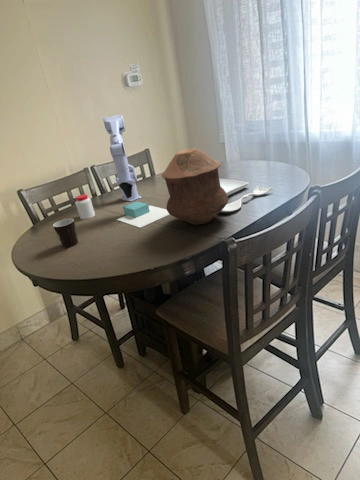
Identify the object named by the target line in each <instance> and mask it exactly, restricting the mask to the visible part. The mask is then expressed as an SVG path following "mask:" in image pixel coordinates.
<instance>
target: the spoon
mask: <svg viewBox="0 0 360 480" xmlns="http://www.w3.org/2000/svg"><path fill="white" fill-rule="evenodd" d="M273 189H274V187H273V186H271V187H267V188H266V187H263V186H262V187H261V186H259V184H258V185H256V186H255V188H254V189H253V190H252V192H249V193H247V194H245V195H244V194H243V195H242V196H241V197H240V198H238V199H237V200H234V201H233V202H229V203H227V204H226V206H225V207H224V208H223V209H222V210H221V211H220V212H219V213H232V212H236V211H237V210H239V209H240V208H241V207H242V200H244V199H247V198H249V197H250V196H253V197H254V196H255V197H259V196H262V195H265V194H267V193H268V192H270V191H272V190H273Z"/></svg>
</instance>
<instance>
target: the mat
mask: <svg viewBox="0 0 360 480" xmlns="http://www.w3.org/2000/svg"><path fill="white" fill-rule="evenodd" d="M148 206H149V211H150V212H149V213H146V214H144V215H142V216H139V217H137V218H135V217H132V216H128V215H124V216H122V217H119V218H117V219H116V221H119V222H122V223H124V224H127V225H130V226H133V227H136V228H139V229H142V228H143V227H146V226H148V225H151V224H152V223H155V222H157V221H159V220H162V219H163V218H166V217H168V216H171V215H170V214H169V213H168V211H167V208H163V207H158V206H154V205H148Z"/></svg>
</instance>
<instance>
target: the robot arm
mask: <svg viewBox="0 0 360 480" xmlns="http://www.w3.org/2000/svg"><path fill="white" fill-rule="evenodd" d="M102 121H103V124H104V129H105V130H106V133H107V134H108V135H110V137H109V141H110V146H109V152H110V155H111V157H112V161H113V162H114V165H115V170H116V174H117V177H115V182H116V183H117V184H119V185H118V186H119V189H120V192H121V195H122V198H121V200H122V201H126V202H134V201H135V200H136V201H137V200H138V199H140V198H142V197H143V195H139V193H138V187H137V184H136V182H137V181H138V178H137V172H136V169H135V167H134V165H132V164H129V160H128V156H127V152H126V148H125V144H124V139H123V133H124V132H126V125H125V120H124V117H123V114H117V115H113V116H107V117H103V119H102Z"/></svg>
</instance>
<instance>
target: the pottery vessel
mask: <svg viewBox="0 0 360 480" xmlns="http://www.w3.org/2000/svg"><path fill="white" fill-rule="evenodd" d="M221 165H222V163H221V162H219V161H217V160H215V159H213V158H212V157H211V156H210V155H208V154H207V153H205V152H204V151H202V149H199V148H198V147H190V148H186V149H183V150H180V151H178V152H176V153H175V154H174V155H173V157H172V159H171V161H170V162H169V163H168V165H167V167H165V169H164V171H163V172H162V174H161V177H162V178H163V179H164V180H165V184H166V187H167V191H168V195H169V198H168V200H167V202H166V209H167V211H168V213H169V214H170V215H169V216H172V217H173V218H176V219H179V220H182V221H185V222H187V223H188V222H189V223H190V224H192V225H203V224H207V223H209V222H211V221H213V218H214V217H215V216H217V215H218V214H219V213H221V212H220V211H221V210H222V209H223V208H224V207H225V206H226V204H228V202H229V196H227V194H226V192H225V191H224V189H223V188H222V187H221V186H220V181H219V179H220V176H219V168H220V167H221Z"/></svg>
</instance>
